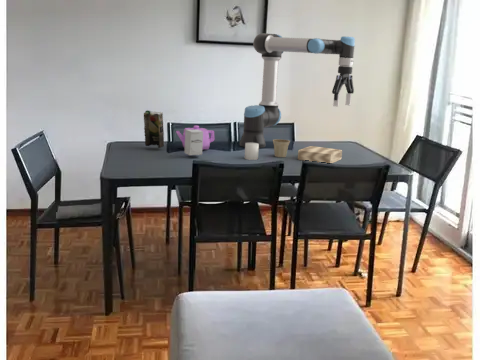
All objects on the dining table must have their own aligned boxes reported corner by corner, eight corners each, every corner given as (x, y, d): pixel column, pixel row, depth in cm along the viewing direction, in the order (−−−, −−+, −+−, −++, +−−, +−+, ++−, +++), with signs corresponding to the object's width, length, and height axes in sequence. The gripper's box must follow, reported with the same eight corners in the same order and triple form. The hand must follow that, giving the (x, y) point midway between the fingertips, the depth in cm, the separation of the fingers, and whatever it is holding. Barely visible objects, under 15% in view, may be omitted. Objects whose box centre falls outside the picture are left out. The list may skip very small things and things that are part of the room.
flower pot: (287, 158, 302) (289, 142, 300) (270, 157, 304) (271, 141, 302) (290, 155, 311) (291, 140, 309) (272, 154, 313) (273, 138, 311)
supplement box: (189, 155, 297) (190, 131, 294) (184, 153, 303) (184, 129, 300) (202, 155, 300) (203, 131, 297) (197, 152, 306) (197, 129, 304)
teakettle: (216, 147, 325) (217, 125, 322) (200, 151, 310) (201, 128, 308) (191, 143, 333) (191, 122, 330) (174, 147, 318) (174, 125, 315)
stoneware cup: (241, 158, 296) (242, 143, 295) (249, 156, 302) (250, 141, 300) (252, 160, 292) (253, 145, 291) (260, 159, 298) (261, 143, 296)
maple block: (297, 159, 302) (298, 150, 300) (310, 154, 317) (310, 145, 316) (330, 164, 293) (331, 154, 292) (341, 159, 309) (342, 150, 308)
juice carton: (159, 112, 307) (164, 110, 313) (142, 110, 310) (148, 109, 316) (160, 148, 313) (165, 146, 319) (144, 146, 316) (149, 144, 322)
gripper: (340, 66, 295) (336, 107, 300) (362, 66, 314) (358, 105, 319) (327, 65, 300) (324, 106, 304) (350, 65, 319) (346, 104, 324)
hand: (341, 105), depth 312 cm, fingers open, 13 cm apart
